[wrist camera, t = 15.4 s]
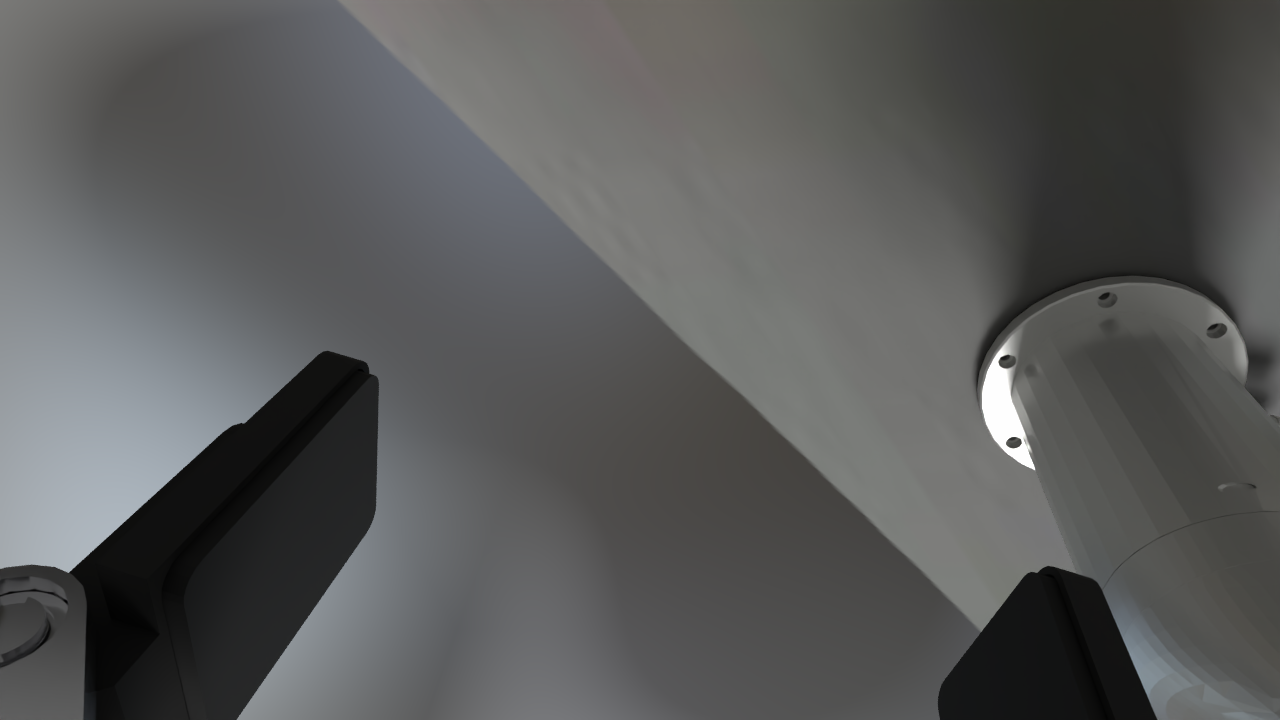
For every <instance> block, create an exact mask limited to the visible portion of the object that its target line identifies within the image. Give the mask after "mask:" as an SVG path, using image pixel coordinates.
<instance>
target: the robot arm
mask: <svg viewBox="0 0 1280 720" xmlns="http://www.w3.org/2000/svg"><path fill="white" fill-rule="evenodd" d="M1104 293H1105V294H1104ZM1102 294H1104V295H1102ZM1101 295H1102V296H1101ZM1004 355H1006V356H1004ZM1248 362H1249V361H1248V355H1247V350H1246V345H1245V341H1244V339H1243V337H1242V335H1241V333H1240V331H1239V329H1238V327H1237V326H1236V324H1235V323H1234V322H1233V321H1232V320H1231V318H1230V317H1229V316H1228V315H1227V314H1226V313H1225V312H1224V311H1223V310H1222V309H1221V308H1220V307H1219V306H1218V305H1217V304H1215V303H1214V302H1213V301H1212V300H1211V299H1209V298H1208V297H1207V296H1206V295H1204V294H1202V293H1200V292H1198V291H1196V290H1194V289H1192V288H1190V287H1188V286H1186V285H1184V284H1180V283H1177V282H1173V281H1170V280H1166V279H1163V278H1155V277H1145V276H1118V277H1106V278H1101V279H1097V280H1092V281H1087V282H1082V283H1079V284H1076V285H1074V286H1071V287H1068V288H1066V289H1063V290H1060V291H1057V292H1055V293H1053V294H1051V295H1050V296H1048V297H1046V298H1044V299H1042V300H1040V301H1039V302H1037V303H1035V304H1033V305H1032V306H1030V307H1029V308H1028V309H1026V310H1025V311H1024V312H1022V313H1021V314H1020V315H1019V316H1017V317H1016V318H1015V319H1013V320H1012V321H1011V323H1010V324H1009V325H1008V326H1007V327H1006V328H1005V329H1004V330H1003V331H1002V332H1001V333H1000V334H999V335H998V337H997V338H996V340H995V341H994V343H993V344H992V346H991V347H990V349H989V350H988V352H987V354H986V356H985V359H984V361H983V364H982V367H981V369H980V372H979V379H978V386H977V394H978V403H979V409H980V411H981V414H982V418H983V421H984V424H985V426H986V428H987V429H988V431H989V433H990V435H991V437H992V439H993V440H994V441H995V442H996V444H997V445H998V446H999V447H1000V448H1001V449H1002V450H1003V451H1004V452H1005V453H1006V454H1008V455H1009V456H1010V457H1012V458H1013V459H1014V460H1016V461H1017V462H1019V463H1020V464H1022V465H1024V466H1027V467H1029V468H1031V469H1033V470H1035V471H1036V473H1037V475H1038V478H1039V480H1040V483H1041V485H1042V488H1043V490H1044V493H1045V495H1046V498H1047V500H1048V503H1049V505H1050V508H1051V510H1052V513H1053V515H1054V518H1055V520H1056V523H1057V525H1058V528H1059V530H1060V533H1061V535H1062V538H1063V540H1064V543H1065V545H1066V548H1067V550H1068V553H1069V555H1070V558H1071V560H1072V563H1073V565H1074V568H1075V570H1076V573H1077V574H1076V573H1073V572H1069V571H1066V570H1062V569H1059V568H1056V567H1051V566H1047V567H1044V568H1042V569H1041V570H1040V571H1039V572H1038V573H1035V572H1030V573H1028V574H1026V575H1025V576H1024V577H1023V579H1022V580H1021V581H1020V583H1019V584H1018V585H1017V586H1016V588H1015V589H1014V590H1013V592H1012V593H1011V594H1010V596H1009V597H1008V598H1007V599H1006V601H1005V602H1004V603H1003V605H1002V606H1001V607H1000V609H999V610H998V611H997V612H996V614H995V615H994V616H993V618H992V619H991V620H990V622H989V623H988V624H987V625H986V627H985V628H984V629H983V631H982V632H981V633H980V635H979V636H978V637H977V638H976V640H975V641H974V642H973V644H972V645H971V646H970V648H969V649H968V650H967V651H966V653H965V654H964V655H963V657H962V658H961V659H960V661H959V662H958V663H957V665H956V666H955V667H954V668H953V670H952V671H951V672H950V674H949V675H948V676H947V677H946V679H945V680H944V682H943V684H942V685H941V688H940V692H939V696H938V710H939V716H940V720H1157V719H1158V720H1280V417H1277V416H1274V415H1270V416H1269V414H1268V413H1267V412H1266V411H1265V410H1264V409H1263V408H1262V406H1261V405H1260V404H1259V403H1258V402H1257V401H1256V400H1255V399H1254V398H1253V396H1252V395H1251V394H1250V393H1249V392H1248V391H1247V390H1246V389H1245V388H1244V387H1245V384H1246V382H1247V373H1248ZM378 396H379V382H378V378H377V377H376V376H374V375H371V374H369V367H368V365H367V363H365V362H364V361H361V360H357V359H354V358H351V357H347V356H344V355H340V354H337V353H334V352H330V351H324V352H322V353H320V354H319V355H318V356H317V357H316V358H314V359H313V360H312V361H311V362H310V363H309V364H308V365H307V366H306V367H305V368H304V369H303V370H302V371H300V372H299V373H298V374H297V375H296V376H295V377H294V378H293V379H292V380H291V381H290V382H289V383H288V384H287V385H285V386H284V387H283V388H282V389H281V390H280V391H279V392H278V393H277V394H276V395H275V396H274V397H273V398H271V400H269V401H268V402H267V403H266V404H265V405H264V406H263V407H262V408H261V409H260V410H259V411H258V412H256V413H255V414H254V415H253V416H252V417H251V418H250V419H249V420H248V421H247V422H246V423H245V424H242V423H240V424H237V425H233V426H231V427H230V428H229V429H227V430H226V431H224V432H223V433H222V434H221V435H220V436H218V437H217V438H216V439H215V440H214V441H213V442H212V443H211V444H210V445H209V446H208V447H207V448H205V449H204V450H203V451H202V452H201V453H200V454H199V455H198V456H197V457H196V458H194V459H193V460H192V461H191V462H190V463H189V464H188V465H187V466H186V467H184V468H183V469H182V470H181V471H180V472H179V473H178V474H177V475H176V476H175V477H173V478H172V479H171V480H170V481H169V482H168V483H167V484H166V485H165V486H164V487H163V488H161V489H160V490H159V491H158V492H157V493H156V494H155V495H154V496H153V497H152V498H151V499H150V500H148V501H147V502H146V503H145V504H144V505H143V506H142V507H141V508H139V509H138V510H137V511H136V512H135V513H134V514H133V515H132V516H131V517H130V518H129V519H127V520H126V521H125V522H124V523H123V524H122V525H121V526H120V527H119V528H118V529H117V530H115V531H114V532H113V533H112V534H111V535H110V536H109V537H108V538H107V539H106V540H104V541H103V542H102V543H101V544H100V545H99V546H98V547H97V548H96V549H94V551H92V552H91V553H90V554H89V555H88V556H87V557H86V558H85V559H84V560H82V561H81V562H80V563H79V564H78V565H77V566H76V567H75V568H74V569H72V571H70V572H69V573H67V572H65V571H63V570H60V569H58V568H56V567H49V566H39V565H24V566H15V567H6V568H3V569H0V720H237V718H238V717H239V715H240V714H241V712H242V711H243V709H244V708H245V707H246V705H247V704H248V702H249V701H250V699H251V698H252V696H253V695H254V693H255V692H256V691H257V689H258V688H259V686H260V685H261V684H262V682H263V681H264V679H265V678H266V676H267V675H268V674H269V672H270V671H271V669H272V668H273V666H274V665H275V663H276V662H277V661H278V659H279V658H280V656H281V655H282V653H283V652H284V651H285V649H286V648H287V646H288V645H289V643H290V642H291V641H292V639H293V638H294V636H295V635H296V633H297V632H298V630H299V629H300V628H301V626H302V625H303V623H304V622H305V620H306V619H307V618H308V616H309V615H310V613H311V612H312V610H313V609H314V607H315V606H316V605H317V603H318V602H319V600H320V599H321V597H322V596H323V595H324V593H325V592H326V590H327V589H328V587H329V586H330V585H331V583H332V581H333V580H334V579H335V577H336V576H337V575H338V573H339V572H340V570H341V569H342V567H343V566H344V564H345V563H346V562H347V560H348V559H349V557H350V556H351V554H352V553H353V551H354V550H355V549H356V547H357V546H358V544H359V543H360V541H361V540H362V538H363V537H364V536H365V534H366V533H367V531H368V529H369V528H370V525H371V523H372V521H373V518H374V515H375V510H376V481H377V439H378Z"/></svg>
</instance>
